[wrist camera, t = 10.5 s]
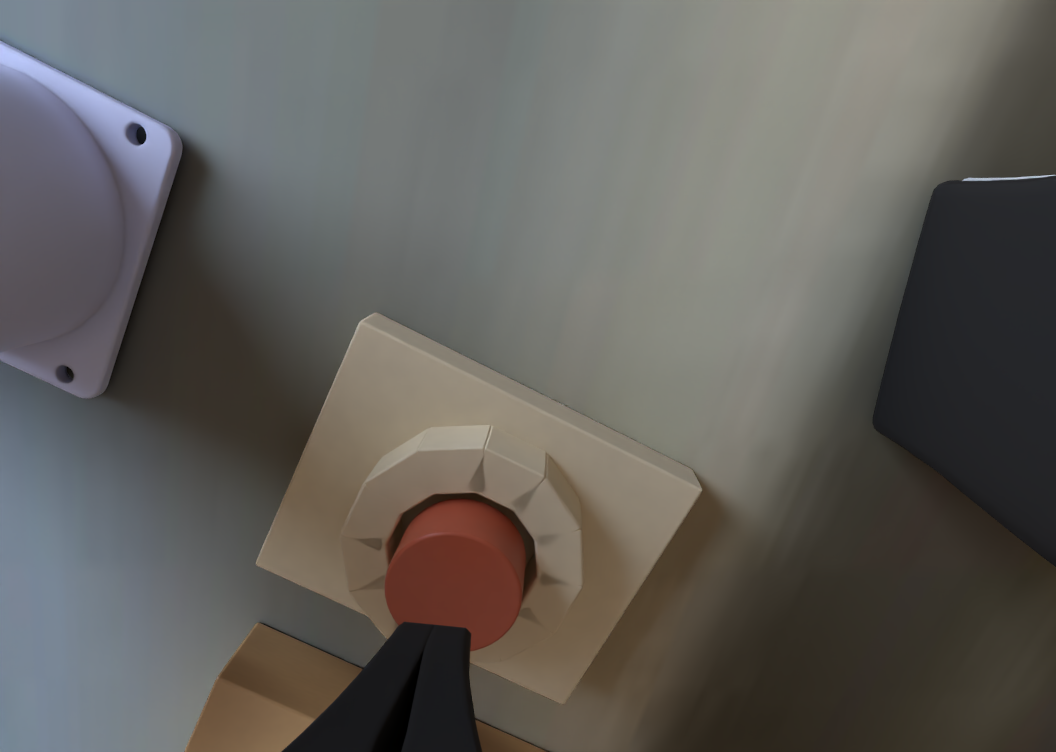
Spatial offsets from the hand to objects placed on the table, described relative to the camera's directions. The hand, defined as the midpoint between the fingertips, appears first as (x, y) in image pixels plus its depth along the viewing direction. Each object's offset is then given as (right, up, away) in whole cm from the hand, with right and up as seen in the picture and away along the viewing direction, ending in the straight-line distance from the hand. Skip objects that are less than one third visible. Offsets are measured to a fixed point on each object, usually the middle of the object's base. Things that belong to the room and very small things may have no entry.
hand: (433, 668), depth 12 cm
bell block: (0, +2, +6) cm, 7 cm away
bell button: (0, +1, +4) cm, 4 cm away
